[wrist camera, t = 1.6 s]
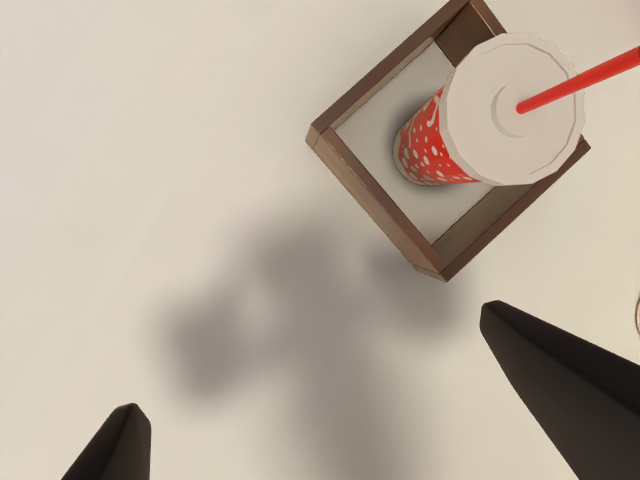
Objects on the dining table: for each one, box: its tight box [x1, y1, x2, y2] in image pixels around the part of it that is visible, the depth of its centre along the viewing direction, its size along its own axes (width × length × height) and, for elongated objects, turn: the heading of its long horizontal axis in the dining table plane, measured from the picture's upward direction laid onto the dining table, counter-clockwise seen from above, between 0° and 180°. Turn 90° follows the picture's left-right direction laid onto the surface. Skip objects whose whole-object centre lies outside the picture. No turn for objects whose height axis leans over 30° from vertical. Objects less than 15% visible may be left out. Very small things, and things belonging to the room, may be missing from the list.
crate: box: [306, 0, 591, 282], centre depth 21 cm, size 11×11×4 cm
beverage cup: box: [393, 33, 640, 186], centre depth 16 cm, size 6×6×14 cm
